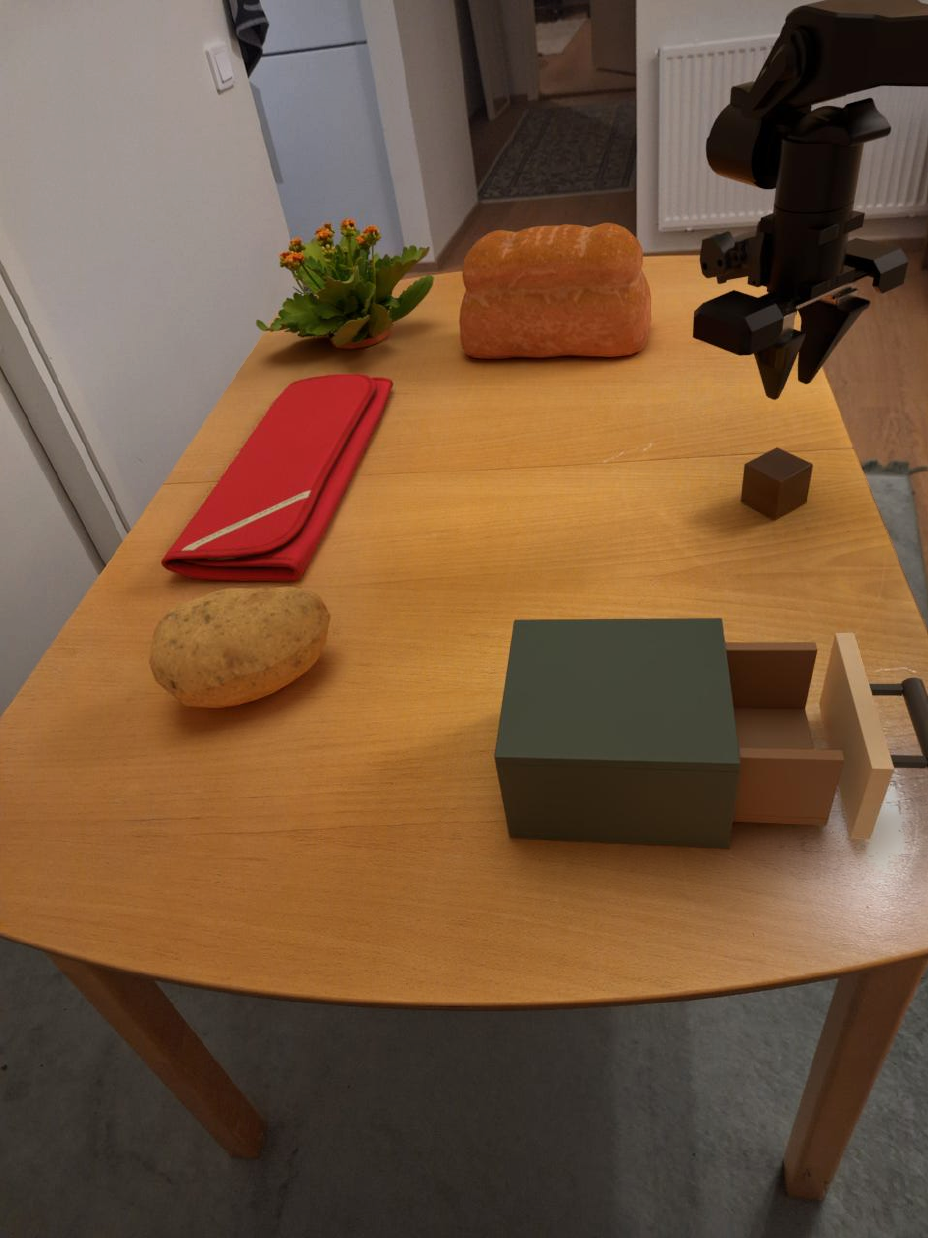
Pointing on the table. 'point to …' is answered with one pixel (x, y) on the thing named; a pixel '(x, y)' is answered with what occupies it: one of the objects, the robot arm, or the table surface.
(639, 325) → the bread
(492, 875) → the table surface
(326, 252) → the potted flower
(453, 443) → the table surface
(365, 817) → the table surface
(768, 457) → the block
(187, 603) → the potato
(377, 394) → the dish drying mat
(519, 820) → the cabinet
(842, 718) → the drawer
